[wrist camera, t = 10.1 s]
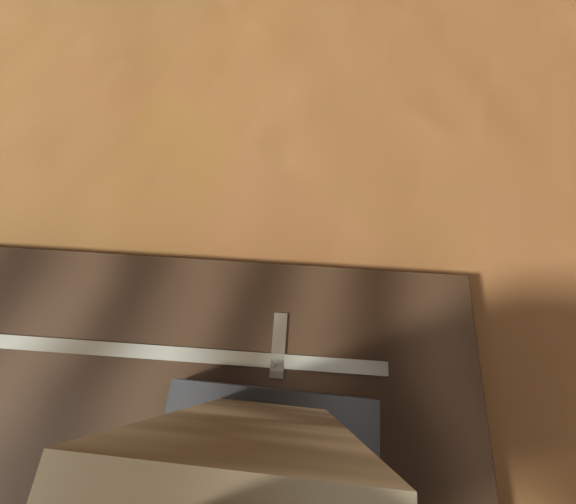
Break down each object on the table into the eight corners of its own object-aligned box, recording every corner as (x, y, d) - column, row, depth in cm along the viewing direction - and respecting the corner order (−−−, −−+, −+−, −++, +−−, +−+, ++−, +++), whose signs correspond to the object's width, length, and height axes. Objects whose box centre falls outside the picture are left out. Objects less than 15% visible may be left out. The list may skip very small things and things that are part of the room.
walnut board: (458, 281, 17) (469, 274, 16) (515, 745, 11) (538, 783, 10) (-178, 241, 18) (-207, 233, 17) (-430, 642, 12) (-497, 666, 11)
